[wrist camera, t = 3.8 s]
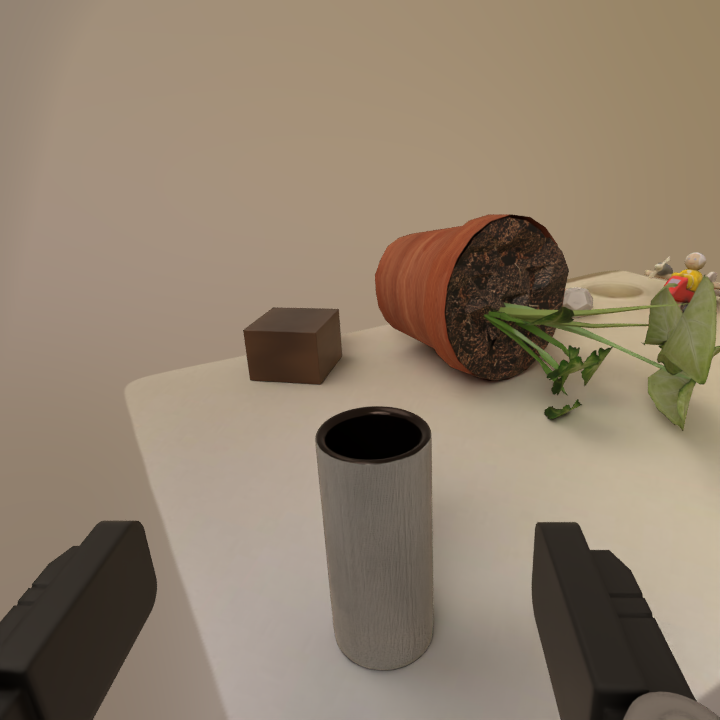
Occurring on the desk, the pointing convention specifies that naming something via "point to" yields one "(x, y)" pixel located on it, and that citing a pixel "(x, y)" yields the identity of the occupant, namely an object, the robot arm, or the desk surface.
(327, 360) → the block
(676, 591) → the desk surface
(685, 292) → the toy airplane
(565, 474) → the desk surface
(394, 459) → the grey cylindrical cup
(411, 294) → the potted plant
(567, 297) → the grey rock
